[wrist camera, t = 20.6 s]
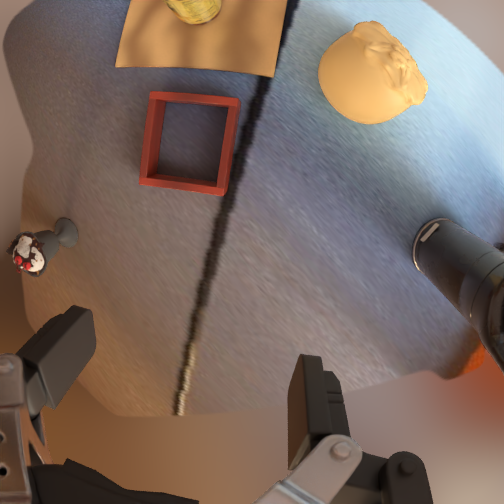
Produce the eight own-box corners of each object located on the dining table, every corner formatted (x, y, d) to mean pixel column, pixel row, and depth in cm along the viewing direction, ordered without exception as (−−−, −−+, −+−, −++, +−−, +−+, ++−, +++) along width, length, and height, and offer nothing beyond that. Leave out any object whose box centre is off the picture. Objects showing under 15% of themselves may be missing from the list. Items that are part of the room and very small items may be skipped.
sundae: (89, 243, 45) (32, 283, 31) (62, 257, 46) (8, 297, 32) (71, 206, 43) (8, 235, 29) (46, 223, 44) (-14, 254, 30)
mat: (291, -20, 30) (291, -22, 29) (273, 77, 36) (273, 76, 35) (141, -24, 30) (139, -26, 29) (117, 67, 36) (114, 66, 35)
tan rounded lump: (413, 93, 35) (453, 85, 25) (352, 141, 38) (379, 143, 28) (361, 29, 32) (387, 1, 22) (296, 74, 35) (305, 52, 25)
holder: (241, 102, 37) (238, 98, 33) (227, 190, 41) (223, 196, 38) (160, 94, 37) (150, 91, 33) (149, 180, 41) (138, 184, 38)
